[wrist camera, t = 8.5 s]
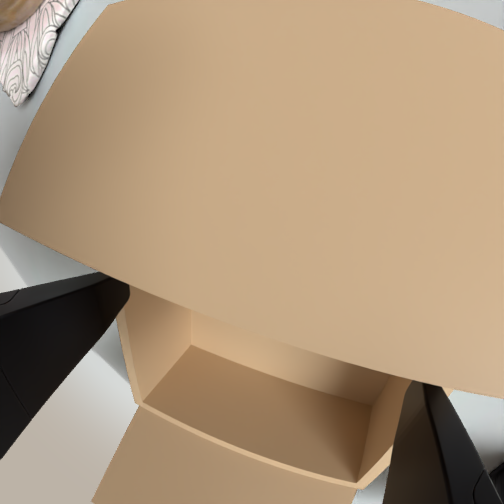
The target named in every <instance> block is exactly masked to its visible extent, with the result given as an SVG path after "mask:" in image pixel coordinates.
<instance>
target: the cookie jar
mask: <svg viewBox="0 0 504 504" xmlns="http://www.w3.org/2000/svg"><path fill="white" fill-rule="evenodd" d="M78 1H79V0H0V82H1V83H2V85H3V91H4V92H6V93H7V95H8V96H9V97H10V98H11V101H12V102H13V104H14V106H15V107H18V106H19V105H21V104H22V103H23V102H25V101H26V100H28V99H29V98H28V95H29V94H30V93H31V92H32V91H33V90H34V88H35V86H36V84H37V82H38V81H39V79H40V77H41V75H42V73H43V71H44V69H45V67H46V65H47V63H48V60H49V57H50V54H51V51H52V48H53V45H54V43H55V40H56V37H57V35H58V32H59V30H60V28H61V26H62V25H63V23H64V22H65V20H66V19H67V17H68V16H69V14H70V13H71V12H72V10H73V9H74V7H75V6H76V4H77V3H78Z"/></svg>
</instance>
